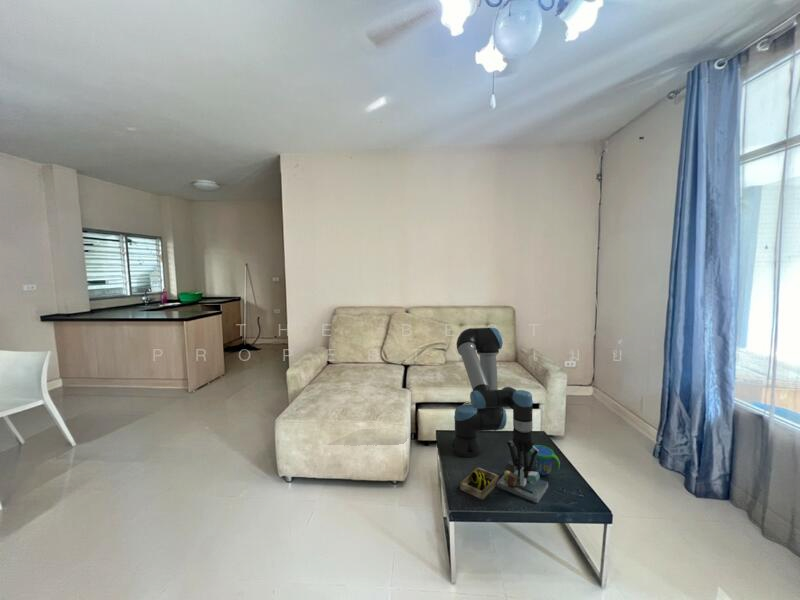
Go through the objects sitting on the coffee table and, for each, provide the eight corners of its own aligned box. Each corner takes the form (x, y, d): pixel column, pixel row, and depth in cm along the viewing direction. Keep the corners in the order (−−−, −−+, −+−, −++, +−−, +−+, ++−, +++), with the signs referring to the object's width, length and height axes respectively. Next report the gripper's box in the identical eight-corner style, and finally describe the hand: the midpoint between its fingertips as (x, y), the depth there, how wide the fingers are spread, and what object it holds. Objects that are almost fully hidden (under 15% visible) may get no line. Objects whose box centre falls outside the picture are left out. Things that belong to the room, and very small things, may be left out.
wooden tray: (460, 489, 140) (460, 482, 140) (477, 473, 152) (477, 467, 151) (482, 499, 133) (482, 492, 133) (499, 482, 145) (499, 475, 144)
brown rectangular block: (507, 484, 139) (507, 475, 139) (510, 480, 141) (510, 471, 141) (514, 486, 137) (514, 477, 137) (517, 483, 139) (517, 474, 139)
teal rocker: (514, 478, 143) (512, 473, 143) (517, 474, 146) (516, 469, 146) (536, 481, 136) (535, 475, 137) (539, 477, 139) (538, 471, 140)
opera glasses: (489, 493, 138) (491, 482, 138) (478, 492, 137) (480, 481, 137) (480, 480, 147) (482, 469, 147) (469, 479, 146) (471, 468, 146)
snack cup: (563, 473, 150) (563, 451, 150) (554, 483, 143) (554, 460, 142) (529, 460, 161) (529, 440, 161) (520, 469, 154) (520, 448, 154)
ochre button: (503, 478, 144) (503, 472, 143) (505, 475, 146) (505, 469, 146) (509, 480, 142) (509, 475, 141) (512, 477, 144) (512, 472, 144)
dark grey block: (507, 471, 148) (507, 463, 148) (510, 468, 151) (510, 460, 150) (513, 474, 146) (513, 465, 146) (516, 471, 149) (516, 462, 149)
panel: (497, 486, 141) (496, 471, 141) (510, 472, 152) (509, 458, 152) (537, 503, 130) (537, 486, 130) (548, 486, 141) (548, 471, 140)
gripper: (503, 427, 137) (504, 482, 137) (535, 436, 128) (536, 495, 129) (511, 421, 142) (511, 474, 143) (542, 430, 133) (542, 486, 134)
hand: (523, 484), depth 136 cm, fingers closed
